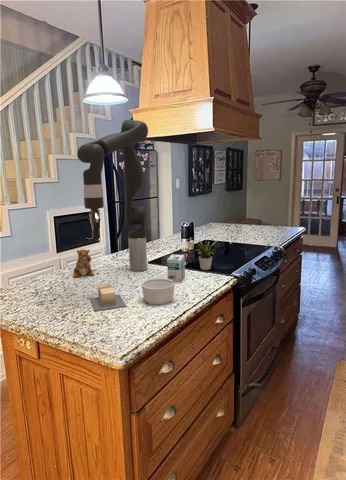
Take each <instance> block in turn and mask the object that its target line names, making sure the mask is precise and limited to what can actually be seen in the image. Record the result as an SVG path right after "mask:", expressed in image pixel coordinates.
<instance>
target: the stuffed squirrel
mask: <svg viewBox="0 0 346 480" xmlns="http://www.w3.org/2000/svg"><path fill="white" fill-rule="evenodd" d="M90 251H91V250H90V249H88V250H87V249H80V250H78V249H77V250H76V254H77V255H78V256H77V258H78V259H77V261H76V264H75V267H74V269H73V278H75V279H77V278H78V277H86V276H89V277H93V276H94V275H95V274H94V272H93V270H92V269H91V266H92V265H91V263H90V262H91V260H92V257H91V255H89V253H90Z"/></svg>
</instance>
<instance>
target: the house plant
mask: <svg viewBox="0 0 346 480" xmlns="http://www.w3.org/2000/svg"><path fill="white" fill-rule="evenodd" d="M192 241H193V242H195V243H196V244H197V245H196V244H195V246H196V247H197V249H195V251H196V252H197V253H198V254H197V255H199V256H198V261H199V267H200V269H201V270H204V271H207V270H211V268H212V261H213V256H211V254H212V255H214V251H216V250H217V249H216V248H215V249H212V247H213V246H214V245H215V243H216V242H218V240H216V241H214V242H213V243H212V244H211V245H210V241H209V240H208V241H206V242H205V244H203V241H202V240H201V239H199V240H198V241H199V243H198V242H197V241H196V240H194V239H193V240H192Z"/></svg>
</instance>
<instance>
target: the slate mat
mask: <svg viewBox="0 0 346 480" xmlns="http://www.w3.org/2000/svg"><path fill="white" fill-rule="evenodd" d="M115 298H116V305H111V306H104V307H103V306H102V304H101V301H100V299H99V296H96V297H89V299H90V303H91V306H92V309H93V312H101V311H102V312H103V311H108V310H114V309H121V308H127V305H126V303H125V301H124V300H123V297H122V296H121V295H120V293H117V294H116V293H115Z"/></svg>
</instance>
